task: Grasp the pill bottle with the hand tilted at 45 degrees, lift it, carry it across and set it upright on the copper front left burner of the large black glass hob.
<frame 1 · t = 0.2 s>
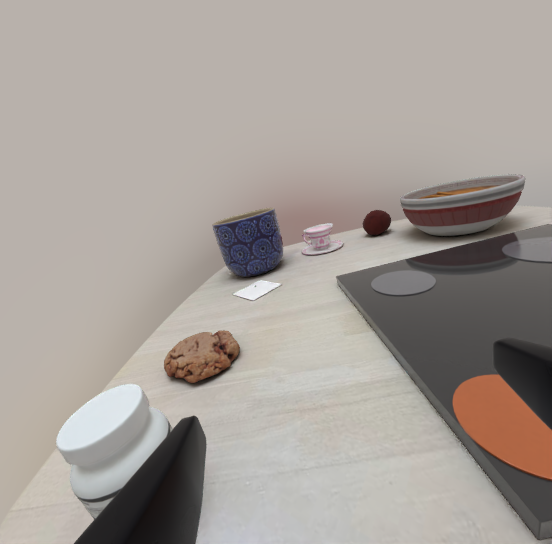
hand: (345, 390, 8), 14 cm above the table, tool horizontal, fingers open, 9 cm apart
hob: (545, 298, 31), on the table
bowl: (456, 230, 62), on the table
coaster: (257, 290, 57), on the table
pill bottle: (164, 516, 19), on the table
teacup: (322, 249, 75), on the table
cookie: (204, 362, 36), on the table
planter: (258, 270, 71), on the table
potato: (378, 234, 76), on the table
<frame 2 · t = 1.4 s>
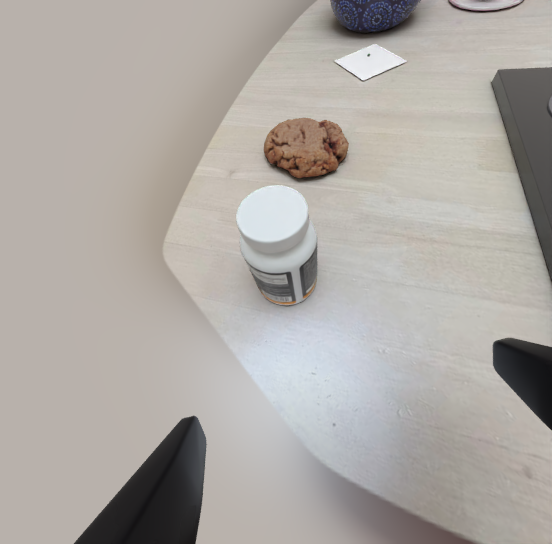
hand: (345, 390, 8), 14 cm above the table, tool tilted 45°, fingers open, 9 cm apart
coaster: (369, 62, 41), on the table
pill bottle: (287, 281, 25), on the table
cookie: (304, 155, 33), on the table
planter: (372, 21, 48), on the table
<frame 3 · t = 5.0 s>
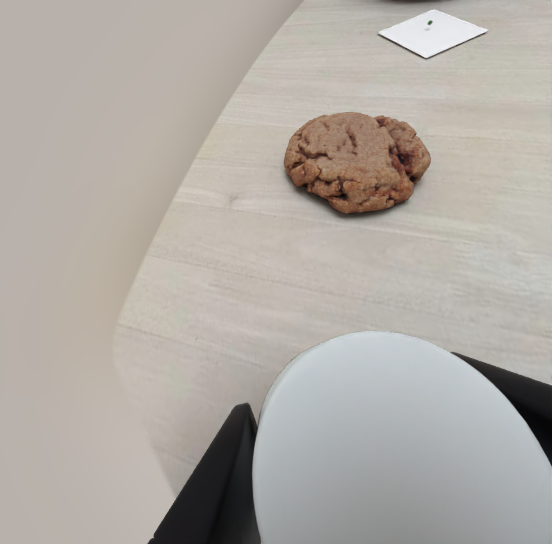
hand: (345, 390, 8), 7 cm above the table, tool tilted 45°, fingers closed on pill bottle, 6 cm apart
coaster: (429, 33, 29), on the table
pill bottle: (340, 428, 13), on the table, touching gripper
cookie: (349, 172, 21), on the table
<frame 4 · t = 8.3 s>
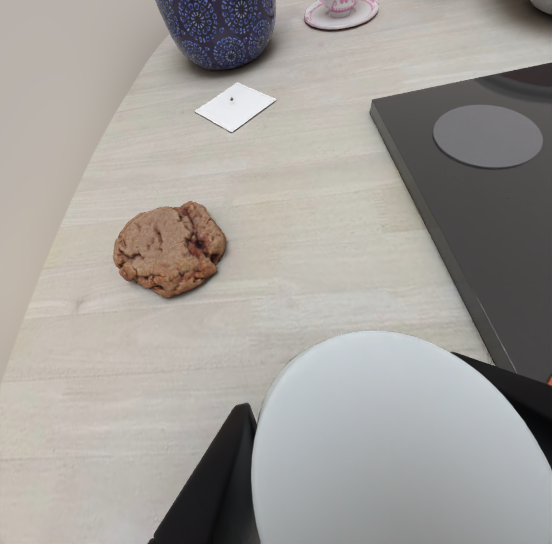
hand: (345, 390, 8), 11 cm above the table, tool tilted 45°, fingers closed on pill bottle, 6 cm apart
coaster: (235, 107, 35), on the table
pill bottle: (340, 428, 13), point 4 cm above the table, touching gripper
teacup: (340, 15, 43), on the table
cookie: (175, 253, 25), on the table
planter: (231, 54, 42), on the table
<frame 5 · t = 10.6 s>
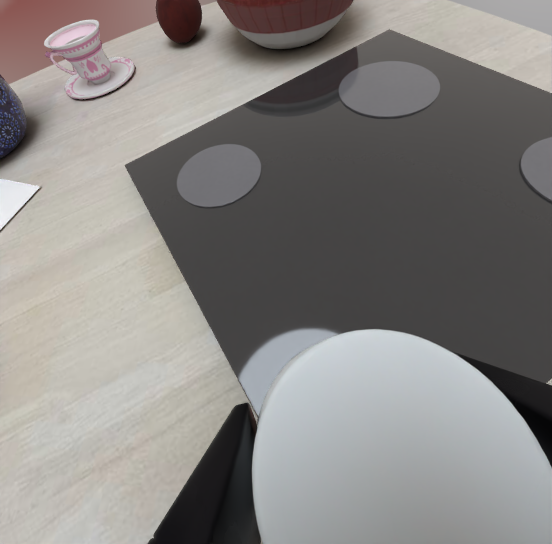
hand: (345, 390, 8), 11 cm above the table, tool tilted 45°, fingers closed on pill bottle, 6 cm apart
hob: (372, 183, 26), on the table
bowl: (291, 34, 43), on the table
pill bottle: (340, 428, 13), point 4 cm above the table, touching gripper
teacup: (102, 81, 44), on the table
potato: (188, 39, 47), on the table
when the fingers open (8 cm above the table, at t = 12.1 s): pill bottle stays where it is, resting on hob.
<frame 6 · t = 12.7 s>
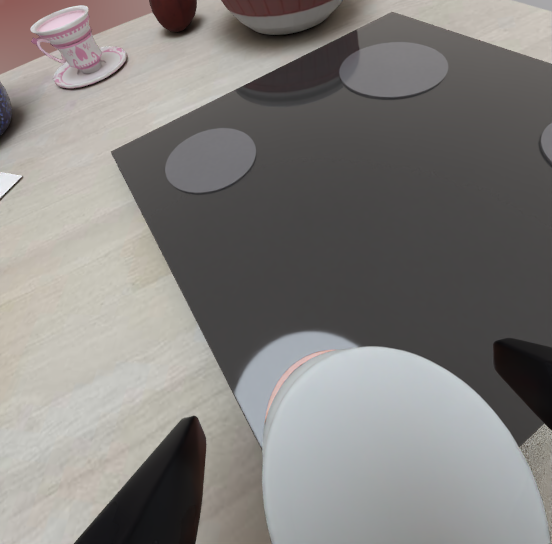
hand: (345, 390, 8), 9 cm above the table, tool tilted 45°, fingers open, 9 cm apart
hob: (377, 166, 24), on the table
bowl: (289, 21, 41), on the table
pill bottle: (341, 432, 13), point 1 cm above the table, touching hob
teacup: (93, 70, 42), on the table
potato: (183, 28, 45), on the table
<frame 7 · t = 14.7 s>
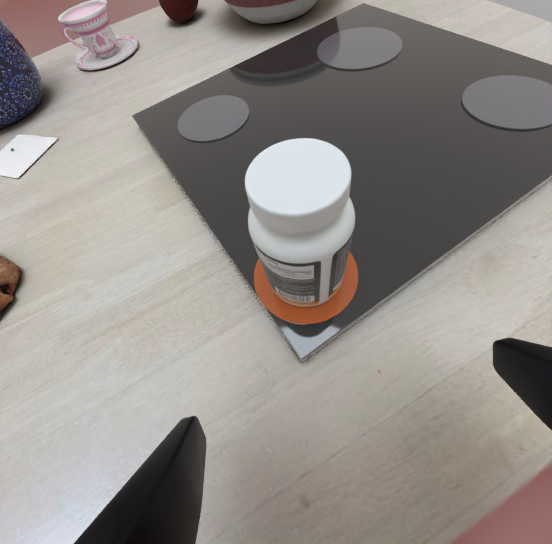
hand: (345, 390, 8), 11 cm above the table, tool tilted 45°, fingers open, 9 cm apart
hob: (343, 121, 30), on the table
bowl: (279, 12, 48), on the table
coaster: (19, 155, 36), on the table
pill bottle: (305, 276, 20), point 1 cm above the table, touching hob
teacup: (109, 55, 49), on the table
planter: (11, 111, 43), on the table
potato: (186, 19, 52), on the table
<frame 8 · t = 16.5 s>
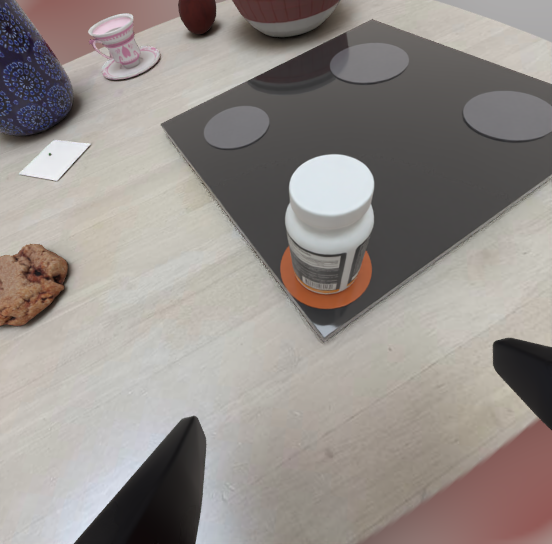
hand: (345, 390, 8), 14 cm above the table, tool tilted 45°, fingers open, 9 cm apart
hob: (355, 131, 33), on the table
bowl: (292, 25, 51), on the table
coaster: (56, 159, 40), on the table
pill bottle: (325, 268, 23), point 1 cm above the table, touching hob
teacup: (132, 65, 52), on the table
cookie: (27, 291, 29), on the table
planter: (44, 118, 47), on the table
potato: (204, 31, 55), on the table
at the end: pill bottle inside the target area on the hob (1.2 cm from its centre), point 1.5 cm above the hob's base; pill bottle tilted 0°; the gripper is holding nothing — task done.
